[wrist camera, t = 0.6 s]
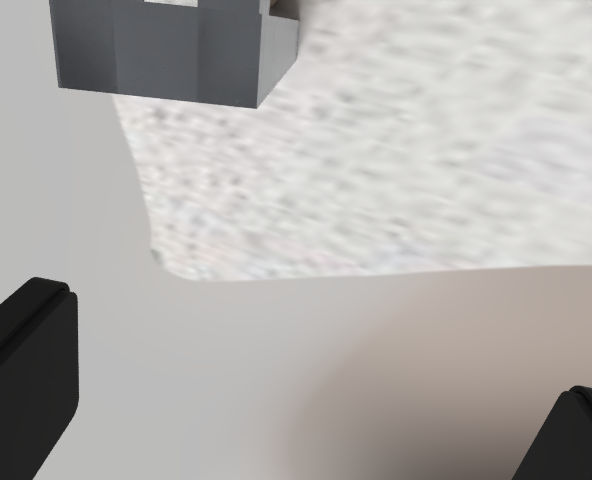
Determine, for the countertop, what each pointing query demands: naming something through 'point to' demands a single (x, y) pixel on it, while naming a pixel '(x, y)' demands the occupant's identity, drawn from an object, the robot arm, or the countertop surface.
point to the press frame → (173, 49)
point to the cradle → (272, 2)
